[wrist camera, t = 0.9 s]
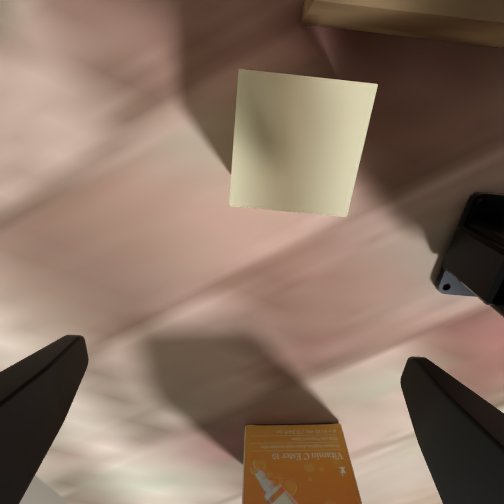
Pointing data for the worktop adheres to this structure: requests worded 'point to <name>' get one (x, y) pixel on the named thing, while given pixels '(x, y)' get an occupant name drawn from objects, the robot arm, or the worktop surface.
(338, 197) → the maple cube
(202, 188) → the worktop surface
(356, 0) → the walnut block
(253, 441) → the small box
